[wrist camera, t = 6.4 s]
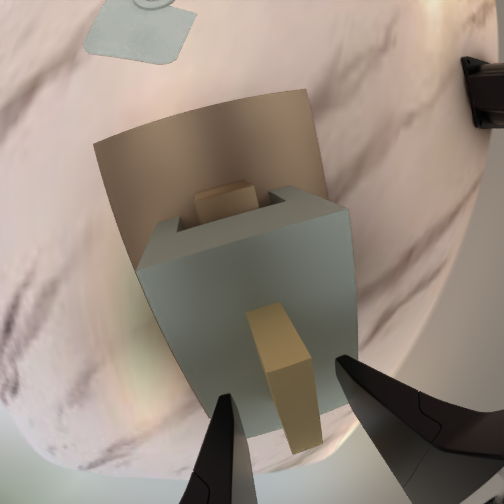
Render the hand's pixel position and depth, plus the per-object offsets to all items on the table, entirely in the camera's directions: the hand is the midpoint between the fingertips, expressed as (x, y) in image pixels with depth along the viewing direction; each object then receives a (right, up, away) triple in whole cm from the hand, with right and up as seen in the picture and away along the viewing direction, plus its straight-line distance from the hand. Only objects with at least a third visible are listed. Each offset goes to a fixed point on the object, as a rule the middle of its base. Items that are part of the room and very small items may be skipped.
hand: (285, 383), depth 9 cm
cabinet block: (-1, +3, +7) cm, 7 cm away
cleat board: (-2, +3, +8) cm, 9 cm away
